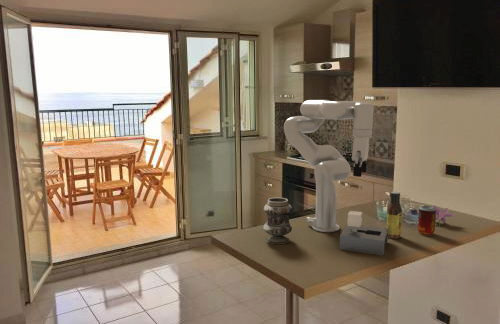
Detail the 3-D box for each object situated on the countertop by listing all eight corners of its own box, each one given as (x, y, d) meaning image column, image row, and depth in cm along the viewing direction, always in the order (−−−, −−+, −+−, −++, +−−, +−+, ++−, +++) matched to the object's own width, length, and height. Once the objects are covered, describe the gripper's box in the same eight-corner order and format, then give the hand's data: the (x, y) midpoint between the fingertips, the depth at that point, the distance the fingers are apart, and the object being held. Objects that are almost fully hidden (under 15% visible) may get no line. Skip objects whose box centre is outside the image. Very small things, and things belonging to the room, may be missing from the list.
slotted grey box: (339, 249, 174) (340, 235, 173) (347, 236, 188) (347, 223, 187) (383, 255, 167) (384, 240, 166) (387, 242, 182) (388, 228, 181)
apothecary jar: (285, 234, 192) (285, 195, 189) (296, 243, 181) (297, 201, 178) (259, 237, 188) (259, 197, 185) (269, 246, 177) (269, 204, 174)
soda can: (421, 230, 197) (423, 204, 195) (437, 233, 192) (439, 207, 190) (414, 233, 193) (416, 207, 191) (429, 237, 188) (431, 210, 186)
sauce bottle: (401, 239, 185) (404, 194, 181) (386, 238, 186) (388, 194, 183) (399, 234, 191) (402, 191, 188) (384, 233, 192) (387, 190, 189)
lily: (458, 228, 203) (456, 208, 206) (447, 223, 195) (445, 203, 198) (433, 230, 211) (431, 211, 214) (421, 226, 204) (420, 206, 207)
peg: (346, 245, 178) (347, 213, 176) (348, 241, 183) (350, 210, 181) (358, 247, 176) (360, 215, 174) (360, 243, 181) (362, 212, 179)
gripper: (357, 130, 185) (355, 169, 188) (348, 134, 170) (345, 177, 173) (375, 131, 182) (372, 171, 185) (367, 136, 166) (364, 179, 170)
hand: (359, 174), depth 179 cm, fingers open, 9 cm apart
